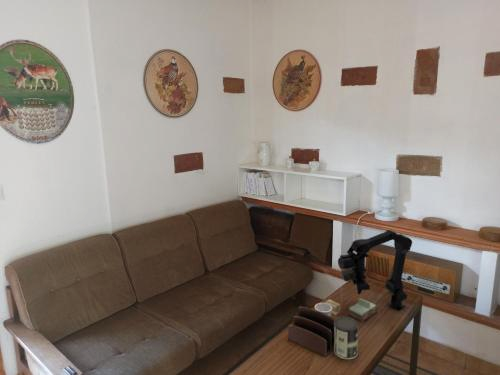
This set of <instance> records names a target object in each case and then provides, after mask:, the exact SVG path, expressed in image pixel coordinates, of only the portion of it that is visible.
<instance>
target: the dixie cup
mask: <svg viewBox="0 0 500 375" xmlns="http://www.w3.org/2000/svg"><path fill="white" fill-rule="evenodd" d="M314 310H316V311H319V312H321V313H324V314H326V315H328V316H330V317H331V316H332V313H331V310H332V306H331V305H329V304H327V303H325V302H319V303H316V304H315V305H314Z"/></svg>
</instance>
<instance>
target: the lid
mask: <svg viewBox="0 0 500 375" xmlns="http://www.w3.org/2000/svg"><path fill="white" fill-rule="evenodd" d="M357 302H358V303H357V304H355V305H354V306H352V307H350V309H349V310H351V311H353V312H355V313H357V314H359V315H361V316H363V314H364V313H366V312H367V311H369V310H370V309H372V308H373V307H375V306H376V304H375V303H373V302H370V301H368V300H366V299H363V298H361V297H359V298H358V300H357Z"/></svg>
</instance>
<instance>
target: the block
mask: <svg viewBox="0 0 500 375" xmlns="http://www.w3.org/2000/svg"><path fill="white" fill-rule="evenodd" d="M324 303H327V304H329V305H331V306H332V310H331V315H332V314H333V315H335V316H336V315H338V314H340V313H341V304H340V303H338V302H336V301H333V299H332V300H331V299H330V298H329V299H327V300H326V301H324Z"/></svg>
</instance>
